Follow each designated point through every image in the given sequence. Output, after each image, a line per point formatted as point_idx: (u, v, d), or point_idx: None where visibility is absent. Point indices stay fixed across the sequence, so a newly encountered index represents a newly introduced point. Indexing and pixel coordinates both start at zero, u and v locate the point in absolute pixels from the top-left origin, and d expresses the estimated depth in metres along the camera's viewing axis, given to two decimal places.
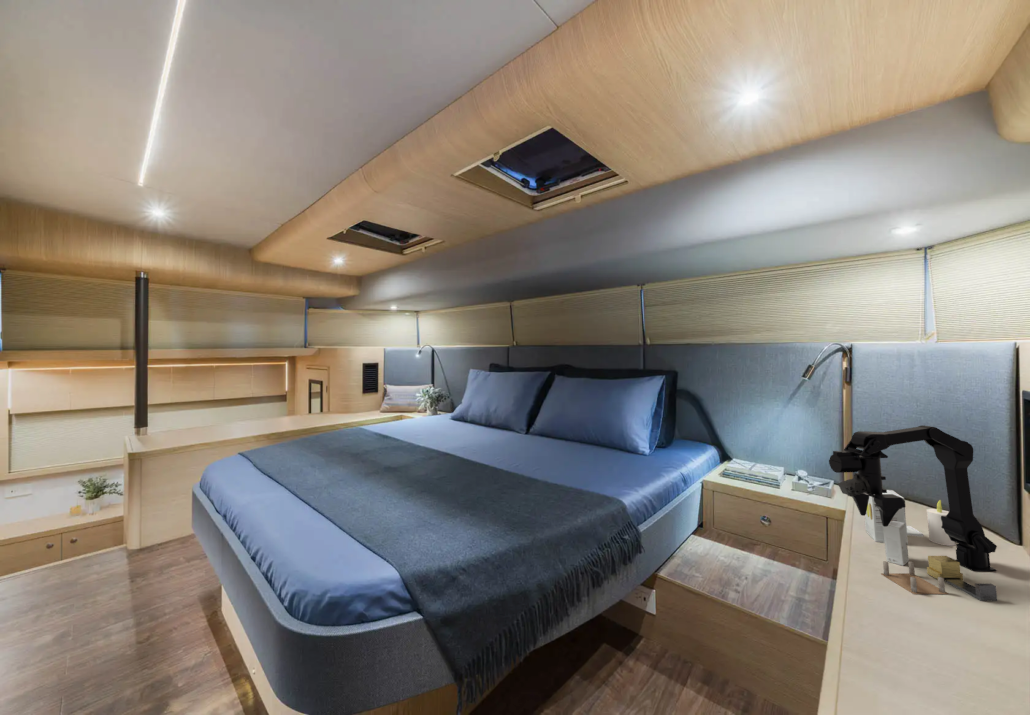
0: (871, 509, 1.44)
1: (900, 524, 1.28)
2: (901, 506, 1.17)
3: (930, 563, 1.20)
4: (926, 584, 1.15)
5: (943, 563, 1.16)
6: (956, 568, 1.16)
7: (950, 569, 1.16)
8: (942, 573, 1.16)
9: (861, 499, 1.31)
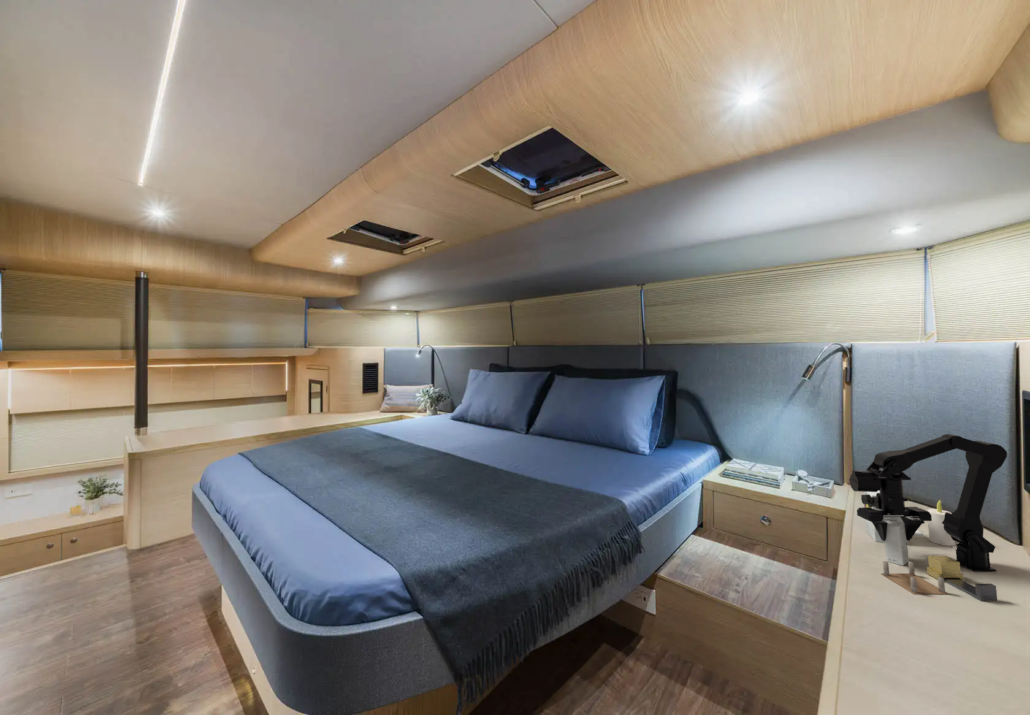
0: None
1: (900, 524, 1.28)
2: (866, 519, 1.29)
3: (930, 563, 1.20)
4: (926, 584, 1.15)
5: (943, 563, 1.16)
6: (956, 568, 1.16)
7: (950, 569, 1.16)
8: (942, 573, 1.16)
9: (907, 524, 1.29)
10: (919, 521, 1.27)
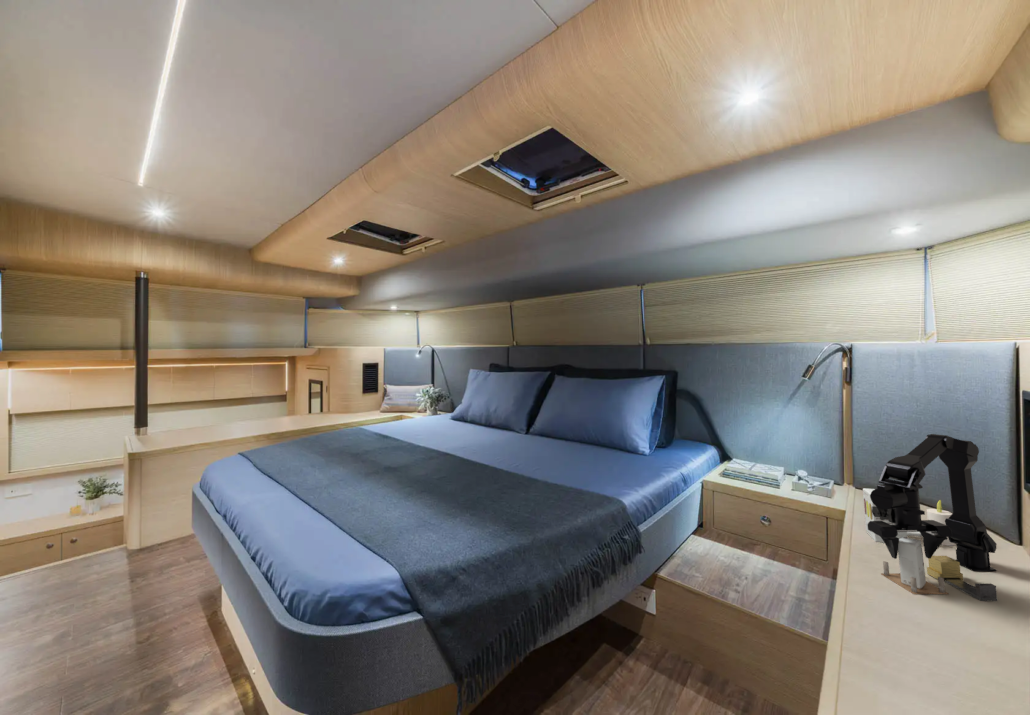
0: (871, 509, 1.44)
1: (916, 542, 1.15)
2: (879, 534, 1.15)
3: (930, 563, 1.20)
4: (926, 584, 1.15)
5: (943, 563, 1.16)
6: (956, 568, 1.16)
7: (950, 569, 1.16)
8: (942, 573, 1.16)
9: (928, 540, 1.16)
10: (941, 537, 1.13)
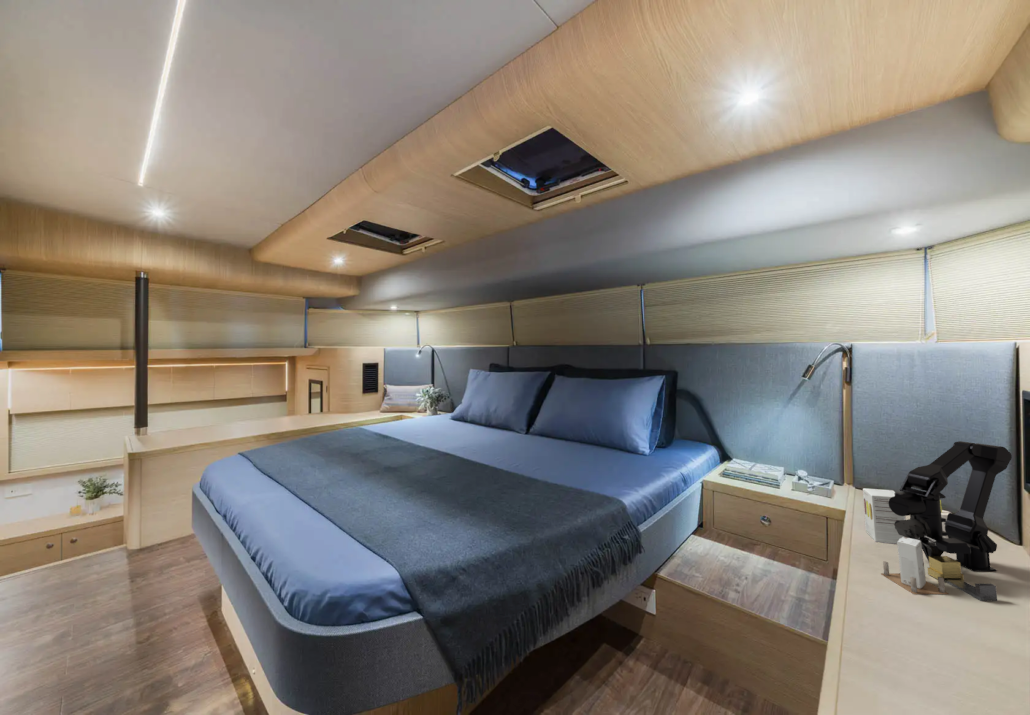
0: (871, 509, 1.44)
1: (916, 542, 1.15)
2: (966, 552, 1.12)
3: (931, 563, 1.19)
4: (926, 584, 1.15)
5: (944, 564, 1.16)
6: (957, 568, 1.16)
7: (951, 569, 1.16)
8: (943, 573, 1.16)
9: None
10: None
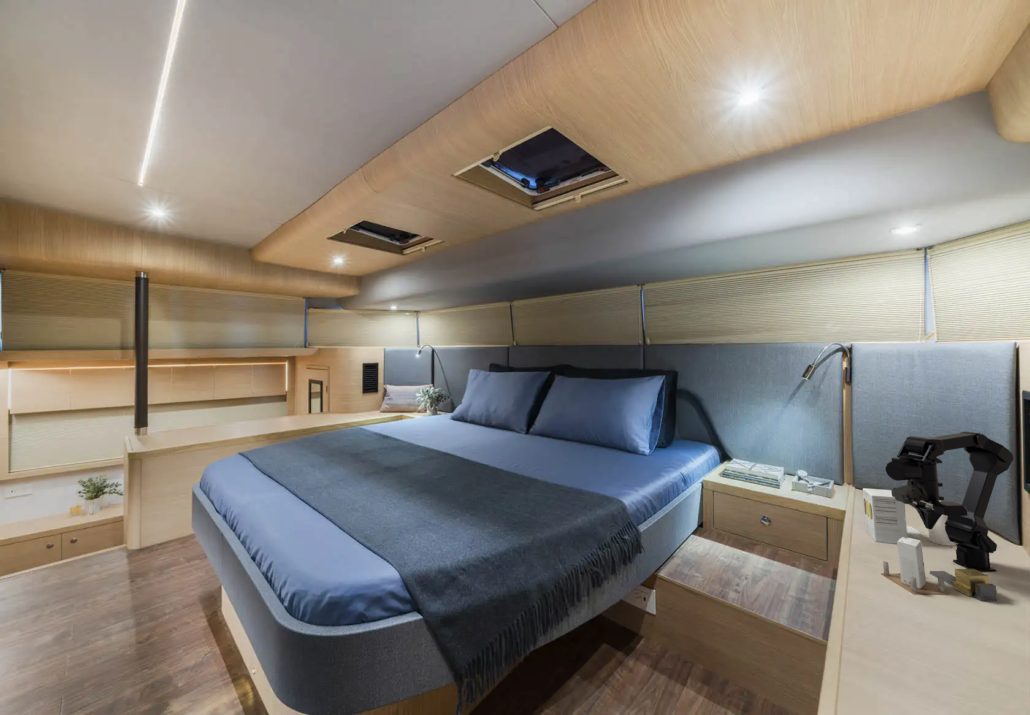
0: (871, 509, 1.44)
1: (916, 542, 1.15)
2: (963, 514, 1.13)
3: (957, 577, 1.12)
4: (926, 584, 1.15)
5: (972, 577, 1.08)
6: (986, 582, 1.08)
7: (980, 583, 1.08)
8: (971, 588, 1.08)
9: None
10: None
